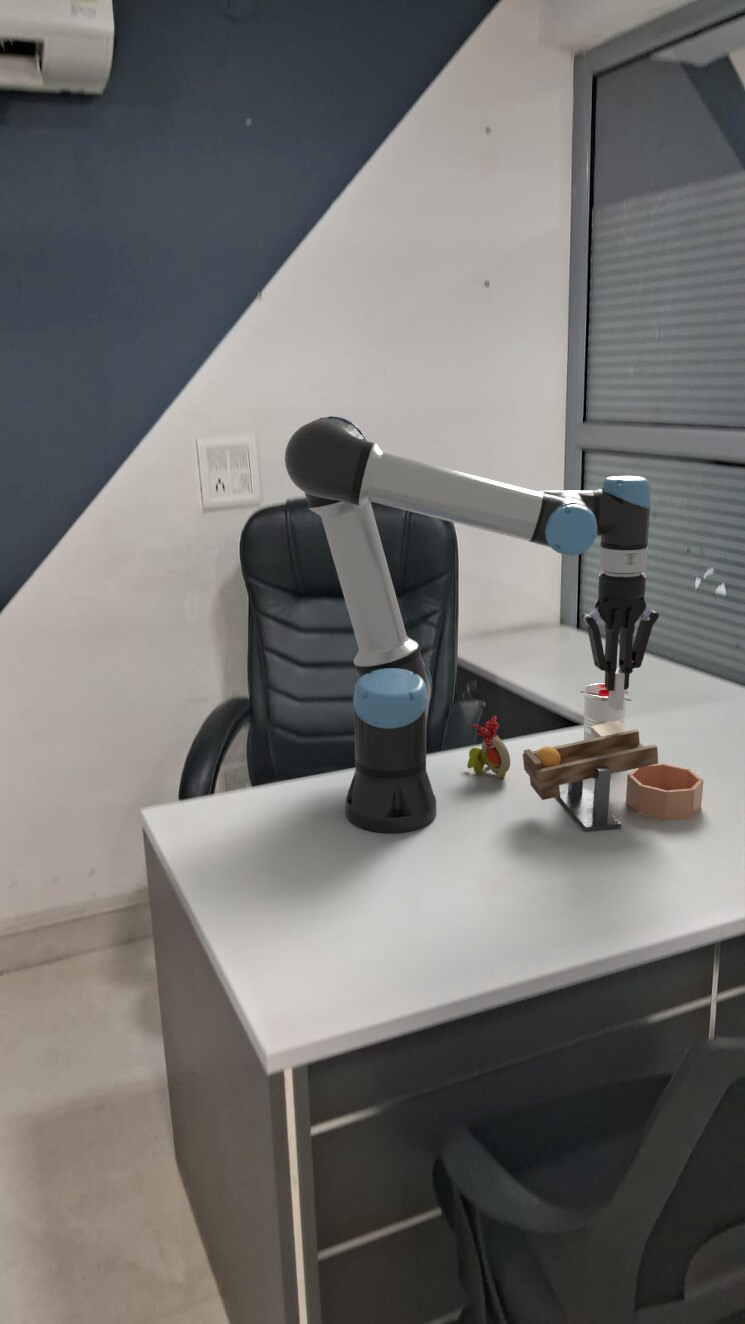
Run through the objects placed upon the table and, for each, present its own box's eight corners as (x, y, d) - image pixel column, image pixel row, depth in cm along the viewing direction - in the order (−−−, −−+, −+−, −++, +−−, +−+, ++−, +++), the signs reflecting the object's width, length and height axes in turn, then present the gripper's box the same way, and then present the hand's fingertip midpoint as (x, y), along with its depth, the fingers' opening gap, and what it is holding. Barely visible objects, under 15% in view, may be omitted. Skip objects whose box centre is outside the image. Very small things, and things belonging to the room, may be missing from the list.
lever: (542, 804, 158) (538, 767, 156) (511, 764, 173) (507, 730, 171) (660, 778, 160) (658, 742, 158) (619, 741, 176) (616, 708, 174)
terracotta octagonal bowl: (618, 808, 165) (620, 781, 164) (642, 785, 174) (644, 759, 173) (685, 825, 159) (687, 797, 158) (707, 800, 168) (709, 773, 167)
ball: (534, 775, 161) (528, 753, 160) (544, 763, 164) (539, 741, 163) (556, 776, 158) (551, 754, 157) (566, 764, 161) (561, 742, 160)
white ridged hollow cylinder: (634, 747, 192) (638, 688, 188) (620, 761, 185) (624, 701, 181) (585, 737, 197) (588, 680, 193) (569, 751, 190) (572, 692, 186)
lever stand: (585, 831, 158) (588, 773, 155) (555, 795, 171) (557, 741, 168) (621, 828, 158) (625, 770, 156) (588, 792, 172) (591, 738, 169)
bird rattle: (513, 783, 181) (483, 751, 186) (532, 739, 174) (500, 707, 180) (487, 792, 177) (458, 759, 183) (506, 747, 171) (474, 714, 176)
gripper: (593, 579, 158) (587, 718, 165) (670, 574, 160) (660, 711, 167) (576, 569, 165) (571, 703, 172) (649, 565, 167) (641, 697, 174)
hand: (615, 707), depth 169 cm, fingers closed
